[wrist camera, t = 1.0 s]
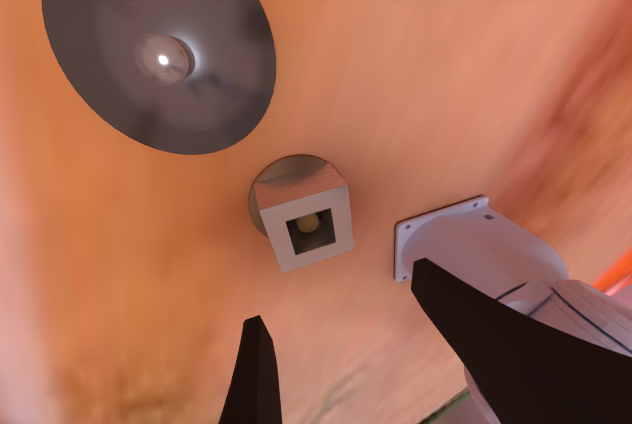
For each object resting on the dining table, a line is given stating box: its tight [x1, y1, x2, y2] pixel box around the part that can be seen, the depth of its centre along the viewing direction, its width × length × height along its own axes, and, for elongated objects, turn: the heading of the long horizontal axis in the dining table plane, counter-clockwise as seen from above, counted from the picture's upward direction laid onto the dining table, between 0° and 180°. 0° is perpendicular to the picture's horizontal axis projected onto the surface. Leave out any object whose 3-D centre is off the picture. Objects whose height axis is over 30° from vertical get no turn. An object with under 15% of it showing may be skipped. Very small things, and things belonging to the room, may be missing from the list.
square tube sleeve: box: [254, 163, 355, 274], centre depth 17 cm, size 5×5×4 cm
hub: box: [42, 0, 276, 155], centre depth 11 cm, size 9×9×4 cm
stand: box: [249, 154, 341, 238], centre depth 18 cm, size 7×7×3 cm
